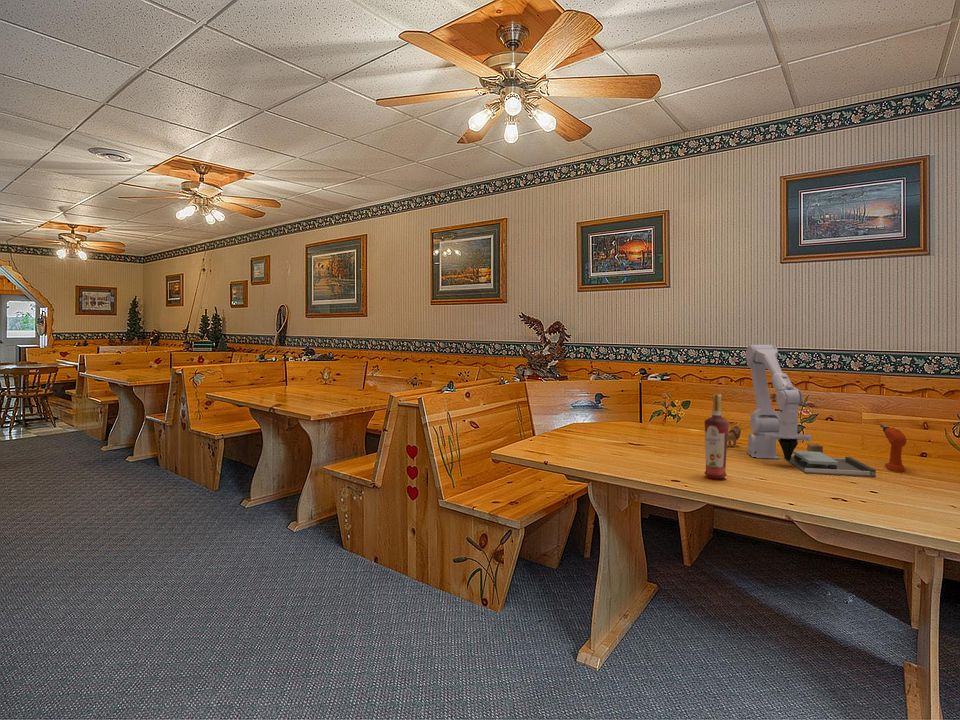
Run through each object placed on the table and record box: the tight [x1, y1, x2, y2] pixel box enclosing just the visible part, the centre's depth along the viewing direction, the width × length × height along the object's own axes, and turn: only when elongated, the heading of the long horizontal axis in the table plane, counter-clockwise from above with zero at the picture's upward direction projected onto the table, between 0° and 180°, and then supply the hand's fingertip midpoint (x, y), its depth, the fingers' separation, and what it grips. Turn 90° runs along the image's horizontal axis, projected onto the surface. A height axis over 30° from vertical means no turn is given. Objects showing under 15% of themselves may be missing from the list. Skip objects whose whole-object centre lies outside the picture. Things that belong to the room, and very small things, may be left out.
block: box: [806, 443, 824, 454], centre depth 203 cm, size 4×4×5 cm
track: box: [786, 455, 877, 478], centre depth 186 cm, size 21×19×2 cm
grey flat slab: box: [792, 450, 838, 470], centre depth 187 cm, size 9×16×3 cm, turn 166°
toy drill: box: [879, 424, 907, 473], centre depth 189 cm, size 5×19×15 cm, turn 161°
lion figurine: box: [727, 424, 742, 448], centre depth 222 cm, size 15×5×9 cm, turn 111°
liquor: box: [703, 393, 730, 480], centre depth 174 cm, size 7×7×28 cm
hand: (787, 459), depth 189 cm, fingers closed
